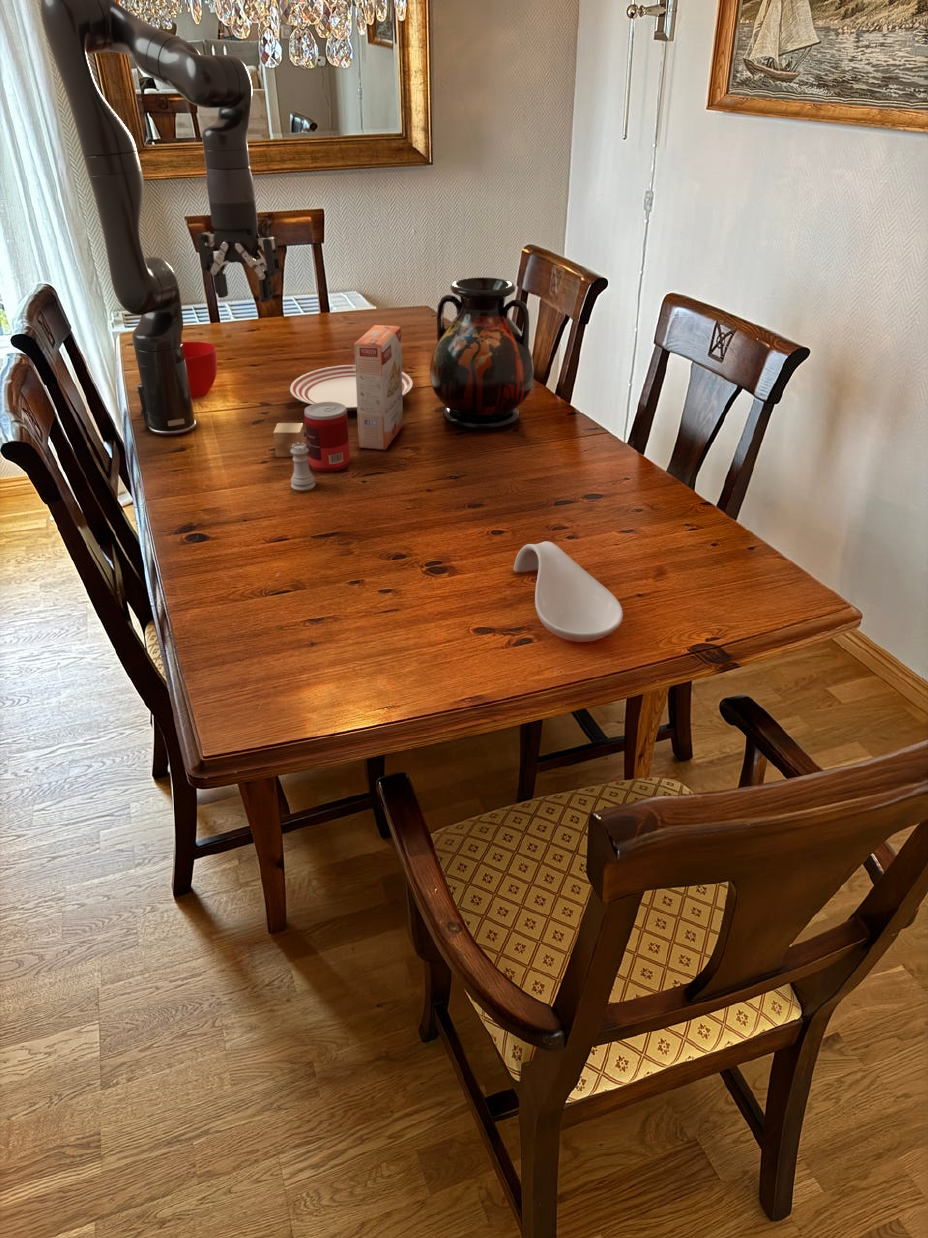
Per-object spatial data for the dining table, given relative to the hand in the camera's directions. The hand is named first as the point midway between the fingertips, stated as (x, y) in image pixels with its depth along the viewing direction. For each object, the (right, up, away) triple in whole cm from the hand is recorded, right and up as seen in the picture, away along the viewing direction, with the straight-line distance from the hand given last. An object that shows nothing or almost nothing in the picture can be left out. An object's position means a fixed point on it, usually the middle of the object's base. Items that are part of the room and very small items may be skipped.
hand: (244, 298), depth 157 cm
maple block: (+4, -23, +20) cm, 31 cm away
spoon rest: (+52, -55, -28) cm, 81 cm away
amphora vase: (+42, -14, +35) cm, 56 cm away
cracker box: (+22, -19, +26) cm, 39 cm away
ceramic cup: (-23, -4, +50) cm, 55 cm away
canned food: (+13, -27, +15) cm, 33 cm away
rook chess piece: (+9, -32, +6) cm, 34 cm away
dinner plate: (+13, -6, +46) cm, 49 cm away
